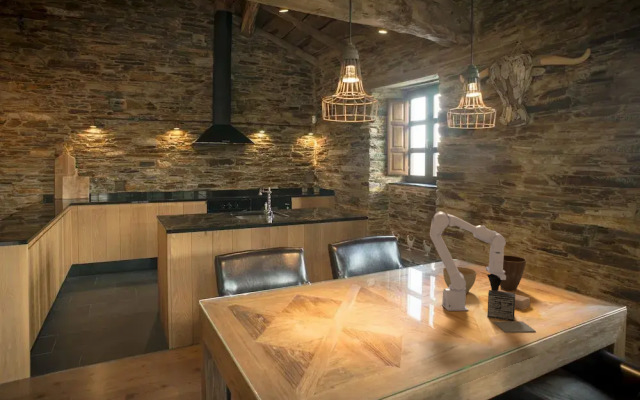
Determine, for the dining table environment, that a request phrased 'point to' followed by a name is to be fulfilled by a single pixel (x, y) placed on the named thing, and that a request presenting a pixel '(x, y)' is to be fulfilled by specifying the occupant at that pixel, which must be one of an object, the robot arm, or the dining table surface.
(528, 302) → the brick
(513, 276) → the plant pot
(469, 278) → the planter bowl
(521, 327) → the mat
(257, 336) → the dining table surface
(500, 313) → the small box
